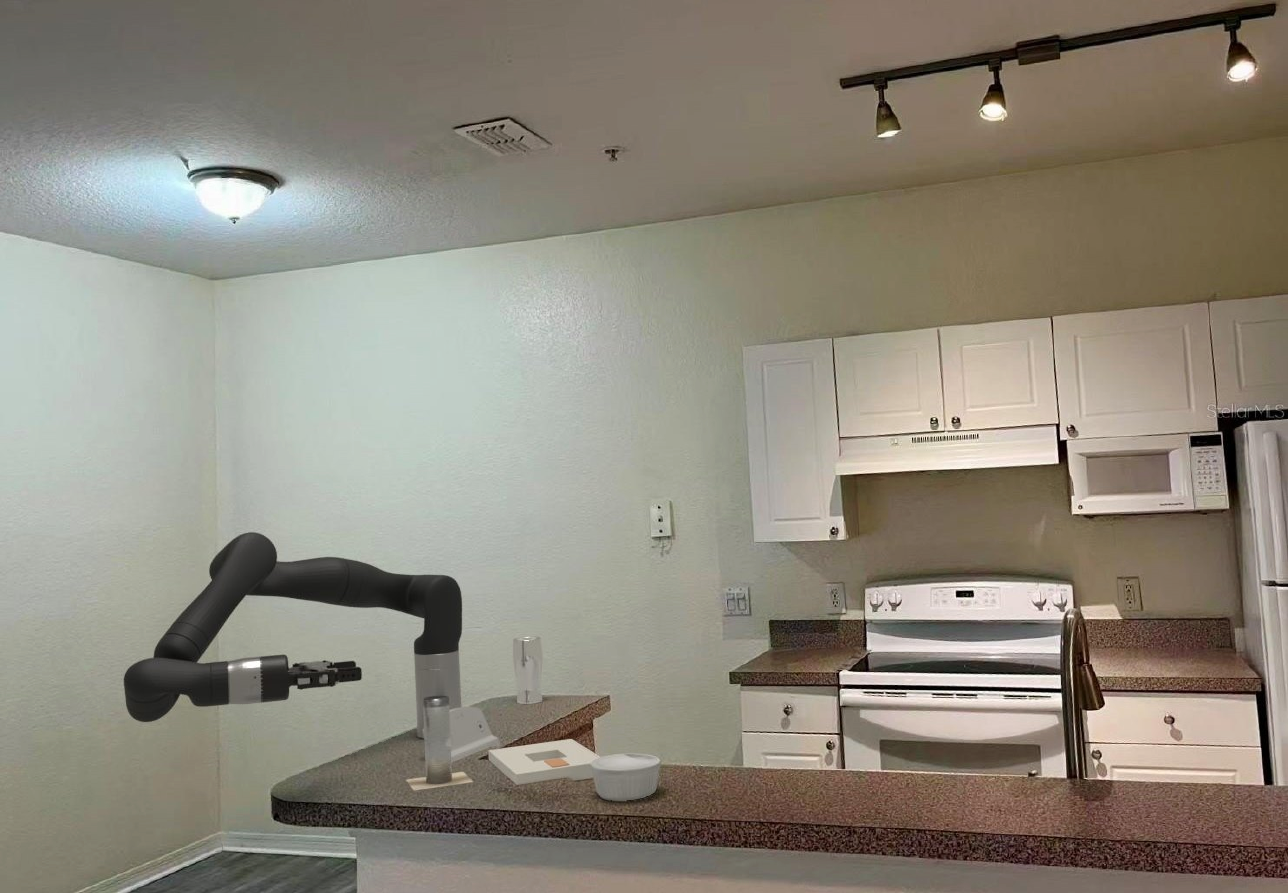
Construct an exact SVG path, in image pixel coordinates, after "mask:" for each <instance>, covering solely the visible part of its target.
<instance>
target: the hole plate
mask: <svg viewBox="0 0 1288 893" xmlns="http://www.w3.org/2000/svg"><path fill="white" fill-rule="evenodd" d="M487 752H488V761H489V762H491V763H492V764H493V766H495V767H496V768H497V769H498V770H499V771H500V772H502V773H503V774H504V775H505V776H506V777H507V778H509V780H510V781H512V782H513V783H514V784H515V785H516V786H518V785H519V786H520V785H525V784H533V783H534V784H535V783H539V782H545V781H553V780H559V779H566V778H569V779H570V780H572V781H573V782H576V781H582V780H590V779H594V778H593V773H592V771H591V768H590V764H591V762H592V761H593V760H595V759H597V758H600V757H601V756H600V755H598V754H596V753H595V752H594V751H592V750H590V749H589V748H587V747H585V746H584V745H582V744H581V743H579V742H578V741H576V740H574V739H572V738H567V739H560V740H552V741H545V742H540V743H533V744H532V743H531V744H527V745H526V744H525V745H518V746H511V747H509V746H508V747H502V748H496V749H489V750H488V751H487Z"/></svg>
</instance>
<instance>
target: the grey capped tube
mask: <svg viewBox="0 0 1288 893" xmlns="http://www.w3.org/2000/svg"><path fill="white" fill-rule="evenodd" d="M423 714H424V738H423V741H424V763H425V765H424V766H425V777H426V783H428V784H443V783H447V782H450V781H452V773H453V772H452V771H453V770H452V769H453V767H452V765H453V762H452V761H451V735H450V709H449V696H431V697H426V698H423Z"/></svg>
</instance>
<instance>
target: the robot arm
mask: <svg viewBox="0 0 1288 893" xmlns="http://www.w3.org/2000/svg"><path fill="white" fill-rule="evenodd" d="M208 570H209V572H208V573H209V577H210V579H211V581H210V582H209V583H208V584H207V586H206V587H205V588H204V589H203V590H202V591H201V592H200V593H199V594H198V596H196V598H194V599H193V601H192V602H191V603H190V604H188V606H187V607H186V608H185V609H184V610H183V611H182V612H181V613H180V614H179V615H178V616H177V618H176V619H175V621H174V622H173V623H172V624H171V625H170V626H169V628H168V629H167V631H166V632H165V633H164V634H163V636H162V637H161V638H160V639H159V641H158V642H157V643H156V646H155V648H154V651H153V657H150V658H145V659H142V660H141V659H140V660H139V661H136V662H135V663H133V664H132V665H130V666H129V668H128V669H127V670H126V671H125V673H124V676H123V687H124V690H123V691H124V697H125V706H126V709H127V712H128V714H129V715H130V717H132V718H133V719H134V720H136V721H138V722H140V723H151V722H155V721H158V720H160V719H161V718H162V717H165V716H166V715H167V714H168V713H169V712H170V711H171V710H172V709H173V707H174V706H175V705H176V703H177V701H178V700H179V698H180V696H181V695H182V696H187V697H188V698H189V700H190V702H191V704H192V705H193V706H195V707H200V708H203V707H204V708H205V707H215V706H217V707H218V706H226V705H227V706H228V705H252V704H260V703H270V702H279V701H280V702H281V701H287V700H288V699H289V696H290V688H291V687H294V686H297V688H296V689H297V690H299V691H300V690H307V689H315V688H326V687H327V688H328V687H329V688H333V687H335V686H336V685H338V684H339V683H348V682H349V683H350V682H359V681H361V680H362V679H363V678H362V676H363V673H362V672H363V671H362V668H361V667H360V666H357V663H356V661H354V660H348V661H346V660H345V661H336V662H333V661H330V660H326V659H325V660H321V661H320V660H316V661H311V662H309V661H303V662H299V663H298V662H296V663H294V664H292V667H289V657H288V656H287V655H286V654H275V655H265V656H264V655H263V656H251V657H242V658H237V659H233V660H225V661H222V660H221V661H214V662H205V663H202V662H201V663H200V662H199V660H201V658H202V657H203V655H204V654H205V652H206V651H207V649H208V648H209V647H210V645H211V643H212V642H213V641H214V640H215V638H216V637H217V635H218V634H219V632H220V631H221V629H222V628H223V627H224V625H225V624H226V622H227V621H228V620H229V618H230V617H231V615H232V614H233V612H234V611H235V610H236V609H237V607H238V606H239V604H240V603H241V602H242V601H243V600H244V599H245V597H246V596H250V597H251V596H252V597H253V596H254V597H277V598H278V597H279V598H288V599H295V600H301V601H308V602H309V601H310V602H315V603H316V602H317V603H322V604H327V605H334V606H340V607H348V608H357V609H358V608H360V609H361V608H362V609H368V608H369V609H371V608H372V609H373V608H382V609H387V610H388V609H389V610H393V611H397V612H400V613H404V614H407V615H410V616H414V617H418V618H420V619H423V620H424V621H423V624H424V625H423V632H422V634H421V635H420V636H418V637H417V638H416V639H415V640H414V642H413V655H414V656H413V657H414V658H413V659H414V677H415V678H414V681H415V699H416V700H415V702H416V728H417V730H416V732H417V737H418V738H420V739H424V737H423V729H424V714H423V698H426V697H431V696H449V709H450V710H451V709H455V708H460V707H462V689H461V687H462V686H461V671H460V670H461V668H460V667H461V665H460V650H459V648H460V647H459V646H460V640H461V637H462V633H463V597H462V591H461V588H460V585H459V583H458V582H457V580H456V579H455V578H454V577H452V576H450V575H447V574H403V573H401V574H400V573H394V572H389V571H385V570H383V569H381V568H378V567H377V566H374V565H372V564H370V563H366V562H363V561H359V560H354V559H350V558H344V557H343V558H342V557H337V556H323V557H320V556H319V557H315V558H308V559H301V560H293V561H278V551H277V548H276V547H275V545H274V543H273V542H272V540H271V539H269V537H267V536H265V535H264V534H263V533H260V532H252V531H250V532H244V533H242V534H239V535H238V536H236V537H235V538H232V539H231V541H230V542H228V543H227V544H226V545H225V546H224V547H222V549H221V550H220V551H219V552H218V553H217V554H216V555H215V557H214V558H212V561H211V563H210V564H209V568H208Z"/></svg>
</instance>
